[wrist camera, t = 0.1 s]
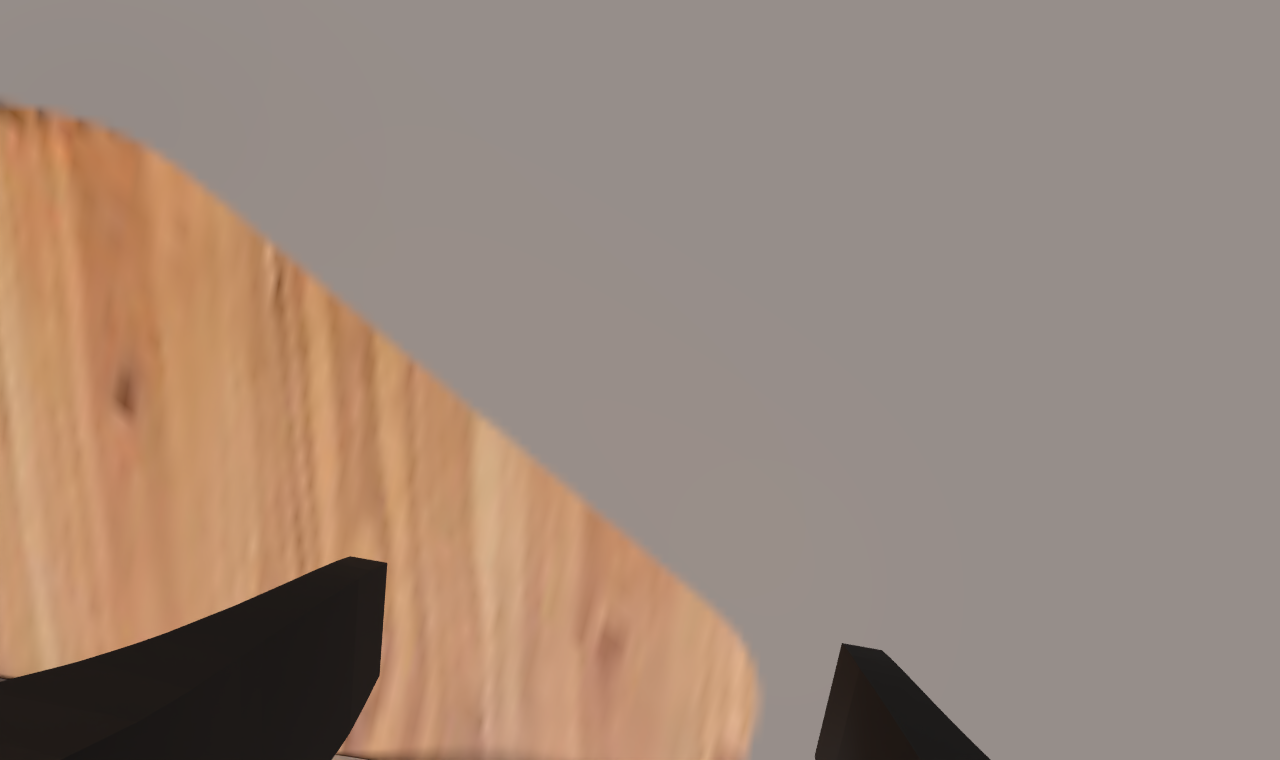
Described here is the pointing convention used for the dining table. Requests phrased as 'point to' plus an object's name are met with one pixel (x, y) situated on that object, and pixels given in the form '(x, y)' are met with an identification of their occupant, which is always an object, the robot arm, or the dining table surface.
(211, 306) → the dining table surface
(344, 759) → the charger plug
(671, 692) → the dining table surface
